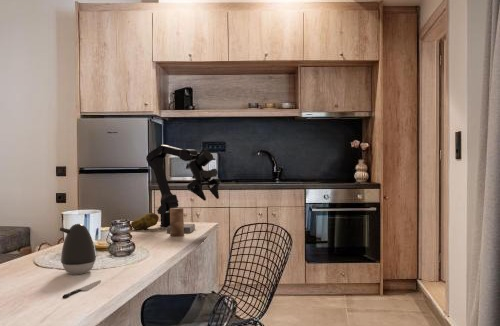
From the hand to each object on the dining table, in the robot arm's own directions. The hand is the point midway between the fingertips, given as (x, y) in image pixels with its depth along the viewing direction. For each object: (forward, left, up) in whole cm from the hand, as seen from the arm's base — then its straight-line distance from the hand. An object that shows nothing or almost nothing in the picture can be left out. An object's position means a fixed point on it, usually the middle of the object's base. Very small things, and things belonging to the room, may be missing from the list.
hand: (211, 199), depth 230 cm
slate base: (-15, -1, -15) cm, 21 cm away
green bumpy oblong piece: (-34, +4, -15) cm, 37 cm away
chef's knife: (-18, -99, -15) cm, 102 cm away
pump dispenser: (-29, -82, -15) cm, 88 cm away
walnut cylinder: (-14, -13, -15) cm, 24 cm away
